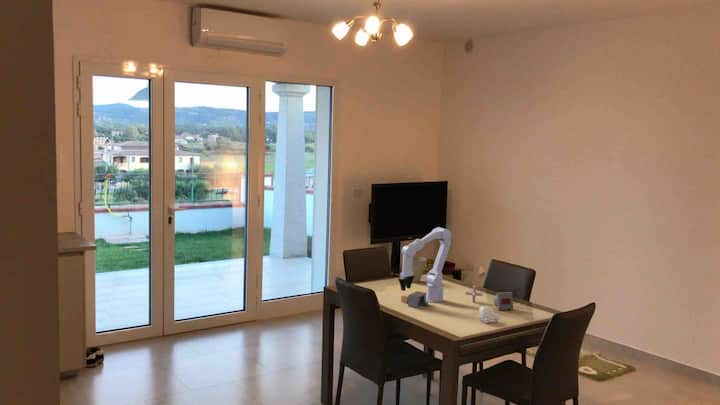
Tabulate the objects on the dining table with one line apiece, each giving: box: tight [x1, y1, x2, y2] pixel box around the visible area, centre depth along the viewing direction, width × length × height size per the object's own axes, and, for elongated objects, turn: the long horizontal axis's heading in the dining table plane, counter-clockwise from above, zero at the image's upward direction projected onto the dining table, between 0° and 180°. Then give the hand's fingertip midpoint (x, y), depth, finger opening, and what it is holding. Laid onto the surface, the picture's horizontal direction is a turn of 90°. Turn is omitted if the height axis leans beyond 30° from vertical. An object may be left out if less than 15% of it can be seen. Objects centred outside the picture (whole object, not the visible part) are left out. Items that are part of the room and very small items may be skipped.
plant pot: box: [412, 256, 427, 284], centre depth 413 cm, size 15×15×16 cm
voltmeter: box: [493, 287, 521, 311], centre depth 360 cm, size 27×11×10 cm, turn 147°
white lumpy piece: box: [478, 305, 501, 325], centre depth 324 cm, size 6×8×12 cm
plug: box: [400, 294, 429, 308], centre depth 354 cm, size 16×4×4 cm, turn 57°
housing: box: [407, 290, 427, 309], centre depth 352 cm, size 6×12×6 cm, turn 152°
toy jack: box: [465, 285, 484, 303], centre depth 366 cm, size 10×10×10 cm
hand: (405, 289), depth 355 cm, fingers open, 7 cm apart
